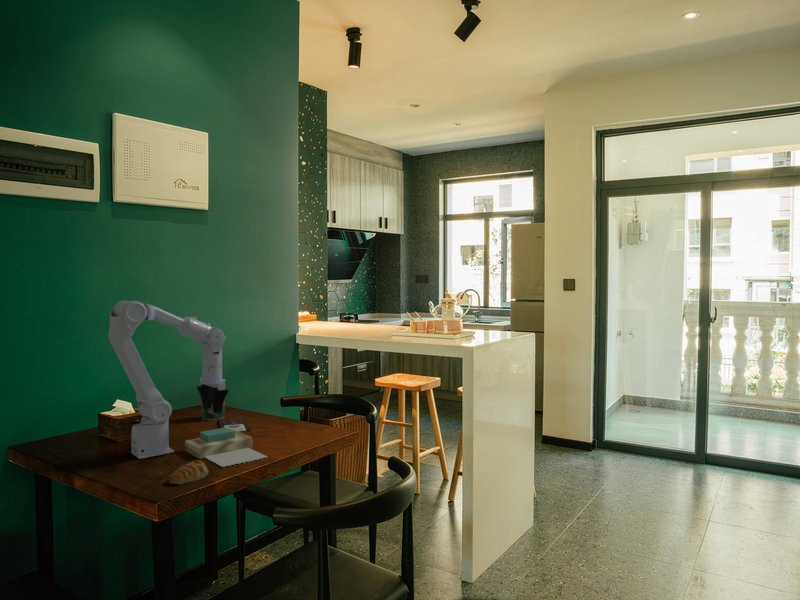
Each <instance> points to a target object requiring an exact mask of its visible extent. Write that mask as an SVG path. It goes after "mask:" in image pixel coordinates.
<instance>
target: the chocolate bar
mask: <svg viewBox="0 0 800 600" xmlns="http://www.w3.org/2000/svg"><path fill="white" fill-rule="evenodd" d="M217 422H219V423H218V426H220V427H219V429H220V428H226V427H227V428H229V429H231V430H233V431H238V432H240V431H241V433H243V432H242V431H250V432H251V428H250V427H249V424H248V422H247V420H246V418H245V417H243V418H242V417H241V418H230V419H229V418H228V419H219V420H217Z"/></svg>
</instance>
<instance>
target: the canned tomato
mask: <svg viewBox="0 0 800 600" xmlns="http://www.w3.org/2000/svg"><path fill="white" fill-rule="evenodd" d="M225 407H226V406H225V402H224V403H223V407H222V411H221V413H214V412H213V407H212V406H211V408H210V409H204V408H203V404H202V403H201V420H204V421H218V420H217V419H219V420H223V419H224V418H225V417H226V416H225V413H226V412H225Z"/></svg>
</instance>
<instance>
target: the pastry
mask: <svg viewBox="0 0 800 600" xmlns="http://www.w3.org/2000/svg"><path fill="white" fill-rule="evenodd" d="M208 475H209V469H208V468H207V466H206V465H205V463H204V461H202V460H200V459H199V460H195V461H194V460H193V461H191V462H189V463H188V462H187V463H186V464H182V465H181V466H179V467H178V468H177V469H176V470H175V471H173V472H172V473H171V474H170V475H169V477H168V479H169V480H168V484H174V485H184V484H189V483H193V482H195V481H199V480H202V479H204V478H206V477H207V476H208ZM205 476H206V477H205ZM201 478H202V479H201Z"/></svg>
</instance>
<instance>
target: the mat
mask: <svg viewBox="0 0 800 600" xmlns="http://www.w3.org/2000/svg"><path fill="white" fill-rule="evenodd" d="M205 458H206V459H205ZM263 458H266V459H268V458H269V457H268V456H267V455H265V454H264V453H261V452H259V451H256V450H254V449H252V448H243V449H239V450H234V451H229V452H224V453H219V454H214V455H209V456H204V458H203V459H205V460H207V459H208V460H207V461H209V460H210V461H209V462H211V461H212V462H214V463H216V464H217V465H216V464H215V465H216V466H218V465H219V466H221V467H225V468H227V467H226V466H230V467H232V466H231V465H234V466H236V465H235V464H239V465H242V464H241V463H243V464H247V463H246V462H248V463H252V462H256V461H255V460H257V461H260V460H259V459H261V460H264V459H263ZM251 461H252V462H251ZM212 462H211V463H212ZM214 463H213V464H214ZM219 466H218V467H219ZM221 467H220V468H221Z"/></svg>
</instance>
